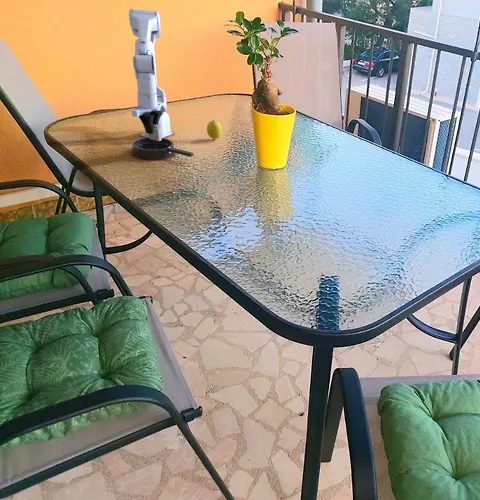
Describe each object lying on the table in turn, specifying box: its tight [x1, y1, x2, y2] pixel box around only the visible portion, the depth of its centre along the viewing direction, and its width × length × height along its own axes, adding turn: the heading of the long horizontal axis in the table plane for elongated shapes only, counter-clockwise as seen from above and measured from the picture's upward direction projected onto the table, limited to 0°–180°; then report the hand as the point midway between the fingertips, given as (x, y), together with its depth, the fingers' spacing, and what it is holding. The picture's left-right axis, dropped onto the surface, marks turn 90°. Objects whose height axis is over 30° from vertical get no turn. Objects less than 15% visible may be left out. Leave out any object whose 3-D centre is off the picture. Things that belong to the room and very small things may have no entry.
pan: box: [131, 137, 175, 161], centre depth 166 cm, size 14×14×4 cm
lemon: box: [206, 119, 223, 141], centre depth 184 cm, size 6×6×8 cm
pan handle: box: [169, 147, 195, 158], centre depth 163 cm, size 2×9×1 cm, turn 71°
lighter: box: [149, 124, 162, 141], centre depth 162 cm, size 7×2×8 cm, turn 72°
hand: (151, 132), depth 163 cm, fingers closed on lighter, 2 cm apart
